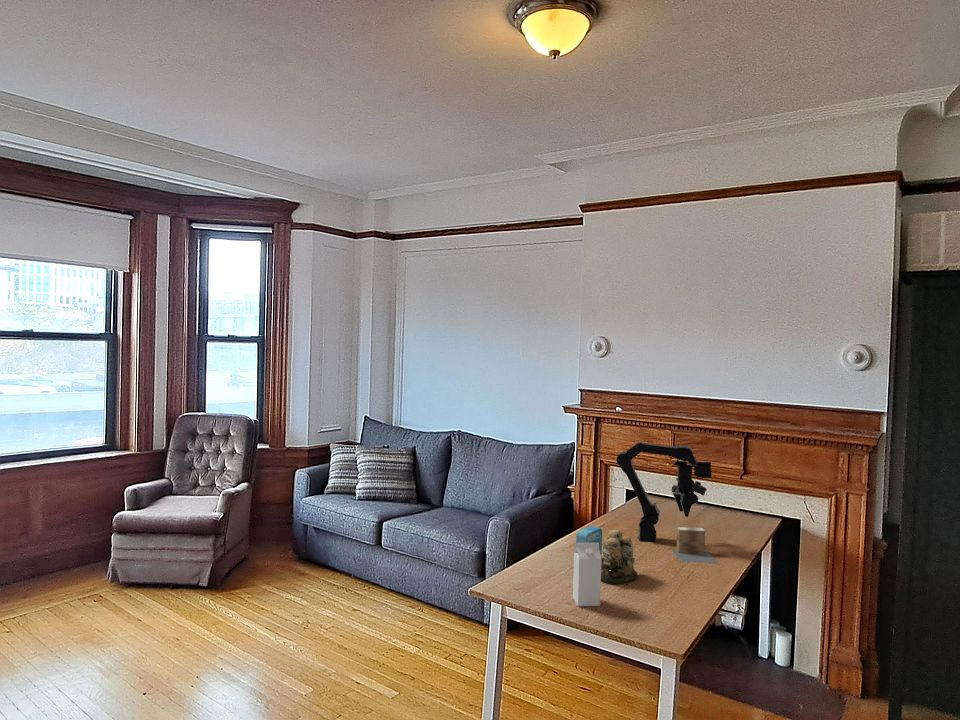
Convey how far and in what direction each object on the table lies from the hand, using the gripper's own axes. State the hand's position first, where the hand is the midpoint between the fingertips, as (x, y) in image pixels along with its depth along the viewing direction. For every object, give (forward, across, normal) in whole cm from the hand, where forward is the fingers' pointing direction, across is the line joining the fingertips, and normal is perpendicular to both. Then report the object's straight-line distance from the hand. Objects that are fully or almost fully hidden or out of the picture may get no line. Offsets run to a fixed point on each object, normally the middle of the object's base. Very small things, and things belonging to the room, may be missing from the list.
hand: (683, 514), depth 266 cm
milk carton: (+13, -64, +48) cm, 81 cm away
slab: (+12, -11, 0) cm, 17 cm away
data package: (+13, -24, +42) cm, 50 cm away
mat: (+13, -15, 0) cm, 20 cm away
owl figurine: (+13, -41, +34) cm, 55 cm away
